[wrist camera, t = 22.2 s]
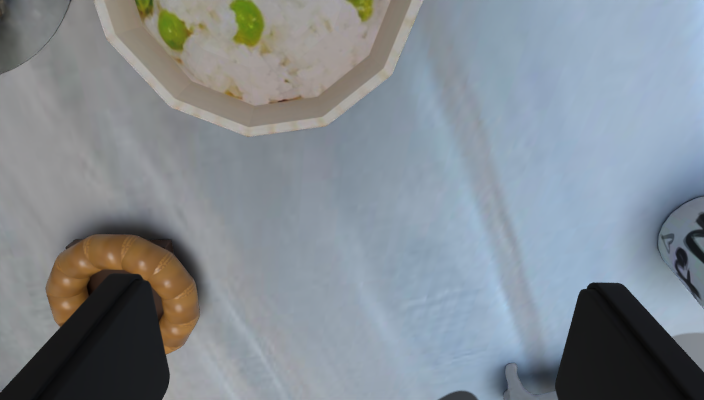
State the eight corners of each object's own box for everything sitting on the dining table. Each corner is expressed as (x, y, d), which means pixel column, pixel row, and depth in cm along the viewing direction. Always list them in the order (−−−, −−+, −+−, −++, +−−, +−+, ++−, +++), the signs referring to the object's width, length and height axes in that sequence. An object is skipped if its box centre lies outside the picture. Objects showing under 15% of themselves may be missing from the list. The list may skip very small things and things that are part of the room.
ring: (45, 226, 39) (21, 243, 36) (193, 229, 39) (181, 246, 36) (78, 345, 44) (59, 367, 41) (210, 347, 44) (200, 370, 41)
